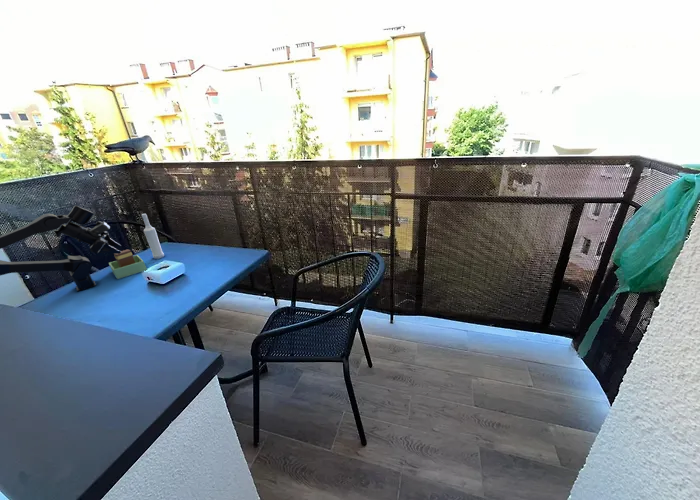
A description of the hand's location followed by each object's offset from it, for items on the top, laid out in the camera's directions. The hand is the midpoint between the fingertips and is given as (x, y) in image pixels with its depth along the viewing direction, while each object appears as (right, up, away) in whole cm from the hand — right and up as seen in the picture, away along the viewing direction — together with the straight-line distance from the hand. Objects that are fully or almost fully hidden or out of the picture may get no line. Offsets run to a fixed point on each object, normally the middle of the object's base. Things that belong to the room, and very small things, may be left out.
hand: (120, 249), depth 129 cm
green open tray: (-3, -11, +9) cm, 14 cm away
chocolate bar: (-3, -10, +9) cm, 14 cm away
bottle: (+2, -4, +24) cm, 24 cm away
